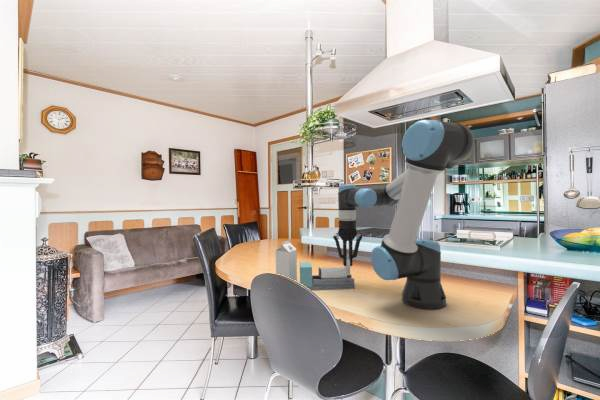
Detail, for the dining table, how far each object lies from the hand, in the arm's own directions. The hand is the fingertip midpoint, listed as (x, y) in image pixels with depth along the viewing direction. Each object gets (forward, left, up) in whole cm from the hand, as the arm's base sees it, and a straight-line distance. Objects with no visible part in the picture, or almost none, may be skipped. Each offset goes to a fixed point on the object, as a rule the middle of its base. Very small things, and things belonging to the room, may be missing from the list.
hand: (347, 273), depth 131 cm
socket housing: (0, +18, -4) cm, 19 cm away
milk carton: (+7, +27, -6) cm, 28 cm away
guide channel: (0, +9, -5) cm, 11 cm away
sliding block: (0, +7, -4) cm, 8 cm away
